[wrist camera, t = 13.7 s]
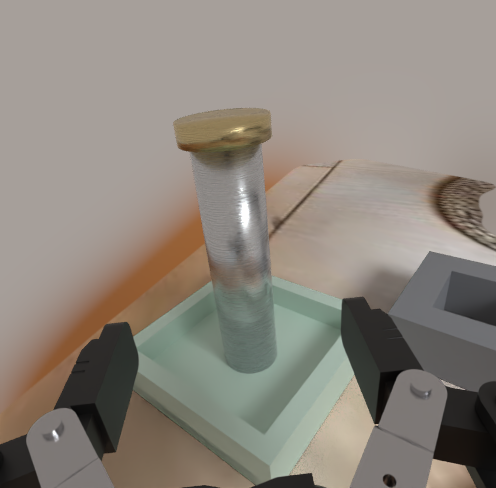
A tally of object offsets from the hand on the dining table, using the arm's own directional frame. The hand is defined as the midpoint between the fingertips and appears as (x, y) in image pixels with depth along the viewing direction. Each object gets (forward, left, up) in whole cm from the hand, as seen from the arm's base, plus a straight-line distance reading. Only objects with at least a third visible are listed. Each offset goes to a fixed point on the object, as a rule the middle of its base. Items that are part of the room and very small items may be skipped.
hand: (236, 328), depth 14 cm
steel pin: (-7, -7, -11) cm, 15 cm away
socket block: (-18, +6, -12) cm, 23 cm away
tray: (-7, -7, -12) cm, 16 cm away
